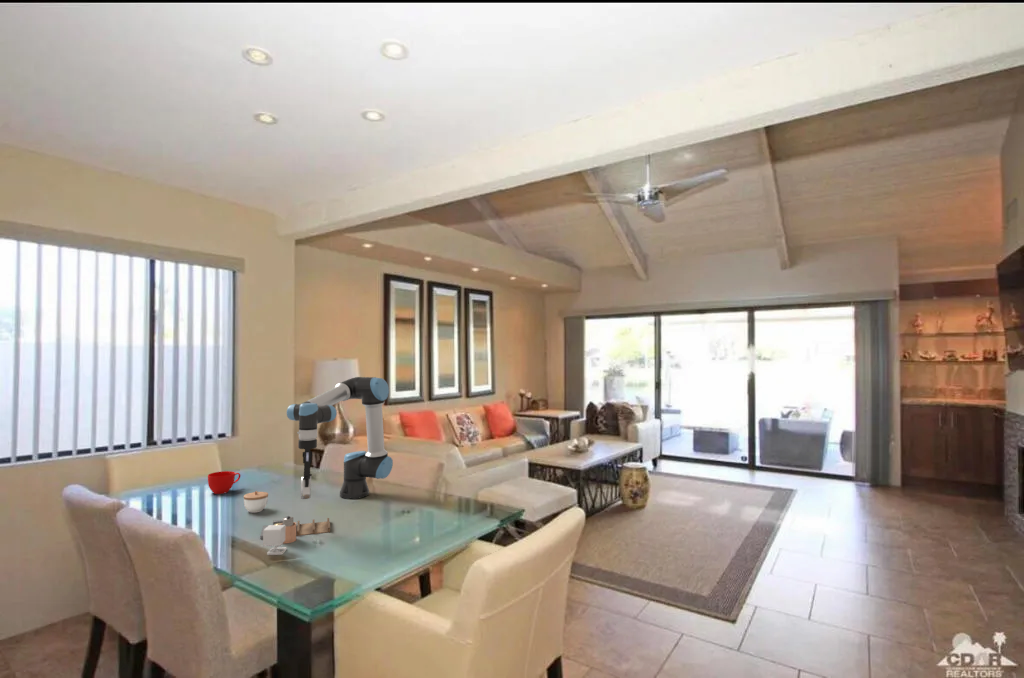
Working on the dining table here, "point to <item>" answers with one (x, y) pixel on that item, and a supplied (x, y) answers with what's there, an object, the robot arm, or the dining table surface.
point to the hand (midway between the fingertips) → (306, 492)
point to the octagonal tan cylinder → (290, 533)
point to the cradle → (268, 525)
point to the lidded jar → (255, 501)
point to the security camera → (274, 539)
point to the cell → (302, 490)
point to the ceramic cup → (221, 481)
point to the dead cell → (288, 521)
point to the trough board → (313, 528)
